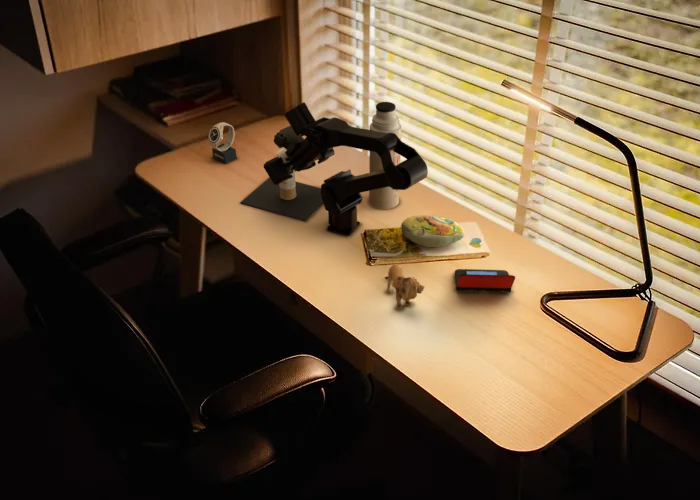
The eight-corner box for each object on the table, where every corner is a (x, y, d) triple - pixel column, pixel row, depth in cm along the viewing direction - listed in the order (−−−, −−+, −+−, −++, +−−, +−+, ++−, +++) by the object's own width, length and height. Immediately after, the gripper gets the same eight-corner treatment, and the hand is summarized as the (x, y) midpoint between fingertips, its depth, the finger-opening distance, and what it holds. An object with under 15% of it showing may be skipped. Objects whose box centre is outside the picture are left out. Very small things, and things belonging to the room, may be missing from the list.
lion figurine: (425, 313, 174) (427, 280, 169) (404, 319, 172) (405, 287, 167) (394, 276, 185) (395, 245, 179) (374, 282, 183) (374, 251, 178)
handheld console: (507, 273, 185) (511, 247, 181) (512, 302, 177) (516, 276, 172) (453, 272, 186) (456, 246, 182) (456, 301, 177) (458, 274, 173)
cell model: (405, 214, 202) (461, 203, 196) (413, 242, 204) (469, 232, 198) (393, 228, 193) (451, 217, 187) (402, 257, 195) (460, 247, 189)
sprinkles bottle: (276, 197, 213) (272, 152, 205) (288, 190, 216) (284, 146, 208) (288, 202, 211) (285, 157, 203) (300, 195, 213) (297, 151, 206)
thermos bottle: (404, 199, 213) (408, 103, 196) (387, 212, 207) (390, 114, 191) (380, 190, 217) (382, 95, 200) (363, 202, 211) (363, 106, 195)
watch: (207, 160, 231) (203, 126, 225) (228, 150, 236) (225, 117, 230) (220, 166, 228) (216, 132, 222) (241, 156, 233) (238, 122, 227)
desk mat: (334, 192, 216) (334, 191, 216) (305, 221, 204) (305, 220, 204) (271, 176, 223) (271, 175, 223) (240, 203, 212) (240, 202, 211)
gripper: (320, 109, 203) (293, 135, 216) (265, 134, 192) (240, 159, 205) (342, 146, 203) (314, 170, 216) (289, 173, 192) (262, 196, 205)
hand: (283, 173), depth 210 cm, fingers closed on sprinkles bottle, 4 cm apart
